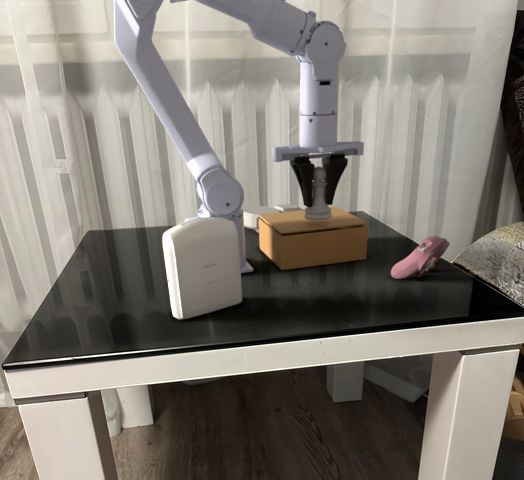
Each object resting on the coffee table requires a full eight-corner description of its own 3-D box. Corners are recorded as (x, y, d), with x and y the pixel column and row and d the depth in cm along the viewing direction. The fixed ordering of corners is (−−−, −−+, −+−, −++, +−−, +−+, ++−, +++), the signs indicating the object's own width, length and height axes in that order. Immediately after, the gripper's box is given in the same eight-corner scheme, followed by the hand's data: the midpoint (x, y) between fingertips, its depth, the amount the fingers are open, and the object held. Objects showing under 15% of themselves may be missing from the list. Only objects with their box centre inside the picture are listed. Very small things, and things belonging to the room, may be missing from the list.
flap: (269, 225, 91) (269, 223, 90) (258, 216, 96) (258, 214, 96) (350, 216, 94) (351, 214, 94) (336, 208, 99) (336, 206, 99)
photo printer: (180, 323, 70) (169, 229, 65) (166, 313, 74) (155, 222, 68) (247, 304, 75) (242, 215, 69) (231, 295, 78) (226, 209, 73)
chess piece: (324, 212, 92) (325, 163, 88) (337, 218, 88) (338, 167, 84) (298, 215, 90) (298, 165, 87) (310, 221, 86) (311, 169, 83)
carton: (281, 270, 88) (280, 232, 85) (259, 248, 99) (258, 214, 96) (366, 259, 91) (368, 222, 88) (335, 239, 102) (336, 206, 99)
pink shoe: (410, 293, 81) (435, 256, 76) (386, 275, 82) (409, 237, 77) (435, 274, 88) (460, 239, 83) (413, 258, 89) (435, 222, 84)
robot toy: (289, 221, 119) (227, 226, 113) (290, 200, 117) (227, 204, 111) (319, 233, 109) (253, 239, 103) (321, 210, 107) (253, 215, 101)
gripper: (281, 118, 77) (283, 214, 83) (374, 112, 80) (369, 205, 86) (267, 115, 83) (269, 205, 89) (354, 110, 86) (350, 197, 92)
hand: (317, 204), depth 88 cm, fingers closed on chess piece, 3 cm apart
